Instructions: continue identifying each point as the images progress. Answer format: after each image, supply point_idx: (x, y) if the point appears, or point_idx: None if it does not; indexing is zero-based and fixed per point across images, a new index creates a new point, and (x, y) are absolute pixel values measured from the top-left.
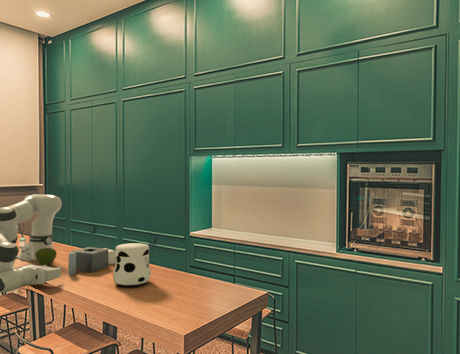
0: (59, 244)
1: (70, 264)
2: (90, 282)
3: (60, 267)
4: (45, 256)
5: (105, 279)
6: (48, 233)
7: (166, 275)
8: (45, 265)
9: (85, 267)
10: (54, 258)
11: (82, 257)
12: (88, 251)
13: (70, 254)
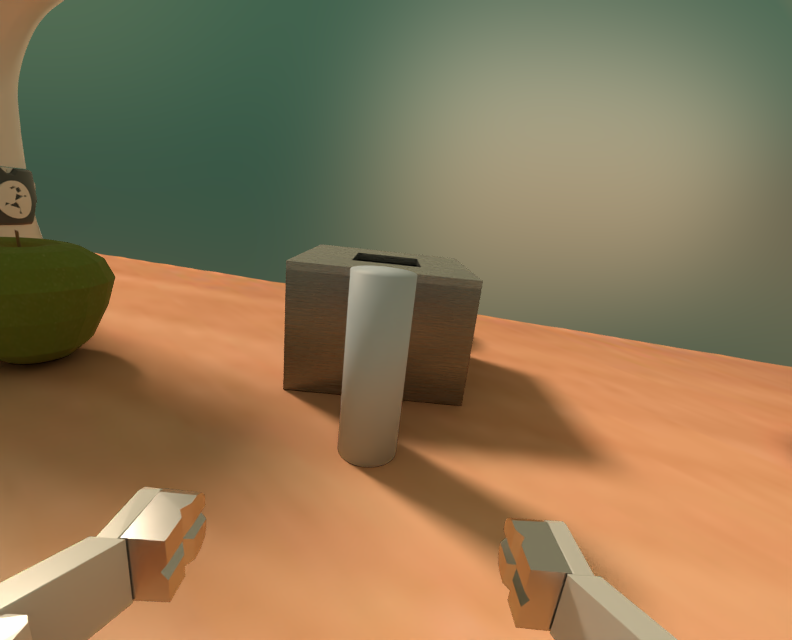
0: None
1: (383, 380)
2: (782, 590)
3: (558, 534)
4: (28, 298)
5: (720, 486)
6: (2, 154)
7: (785, 386)
8: (168, 506)
9: (411, 374)
10: (104, 310)
11: None
12: (405, 266)
13: (391, 286)
